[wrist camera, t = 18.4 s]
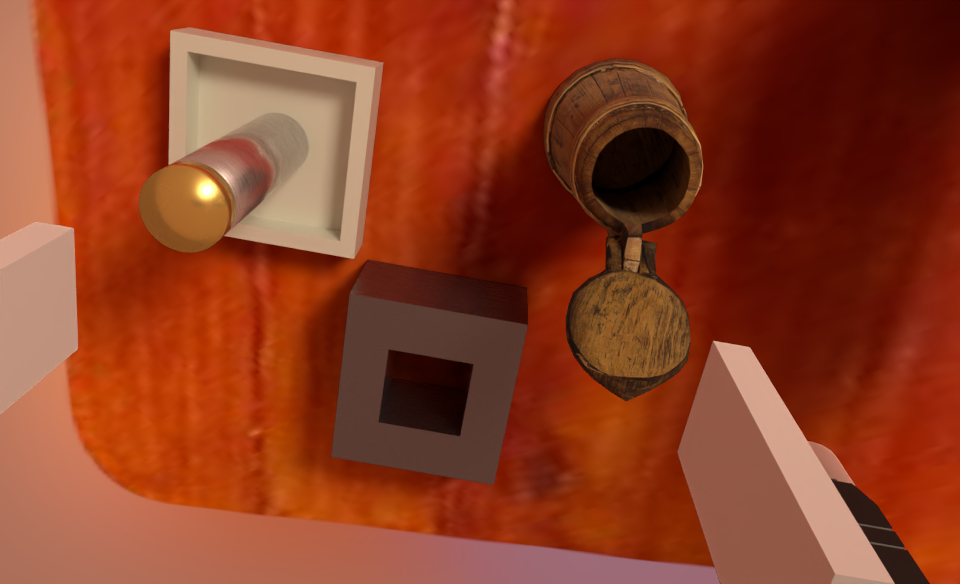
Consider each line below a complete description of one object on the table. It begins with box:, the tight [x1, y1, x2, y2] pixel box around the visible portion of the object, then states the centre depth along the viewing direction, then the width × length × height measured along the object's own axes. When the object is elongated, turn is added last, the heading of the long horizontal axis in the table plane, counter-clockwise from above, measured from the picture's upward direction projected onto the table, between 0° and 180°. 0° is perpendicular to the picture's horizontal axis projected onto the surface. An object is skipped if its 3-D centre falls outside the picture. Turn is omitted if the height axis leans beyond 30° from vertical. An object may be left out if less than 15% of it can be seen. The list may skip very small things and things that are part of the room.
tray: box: [169, 27, 383, 259], centre depth 48 cm, size 12×12×3 cm
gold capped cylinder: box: [139, 112, 309, 253], centre depth 42 cm, size 4×4×15 cm
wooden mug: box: [543, 59, 703, 401], centre depth 41 cm, size 9×14×18 cm, turn 174°
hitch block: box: [331, 260, 528, 485], centre depth 52 cm, size 12×11×6 cm
